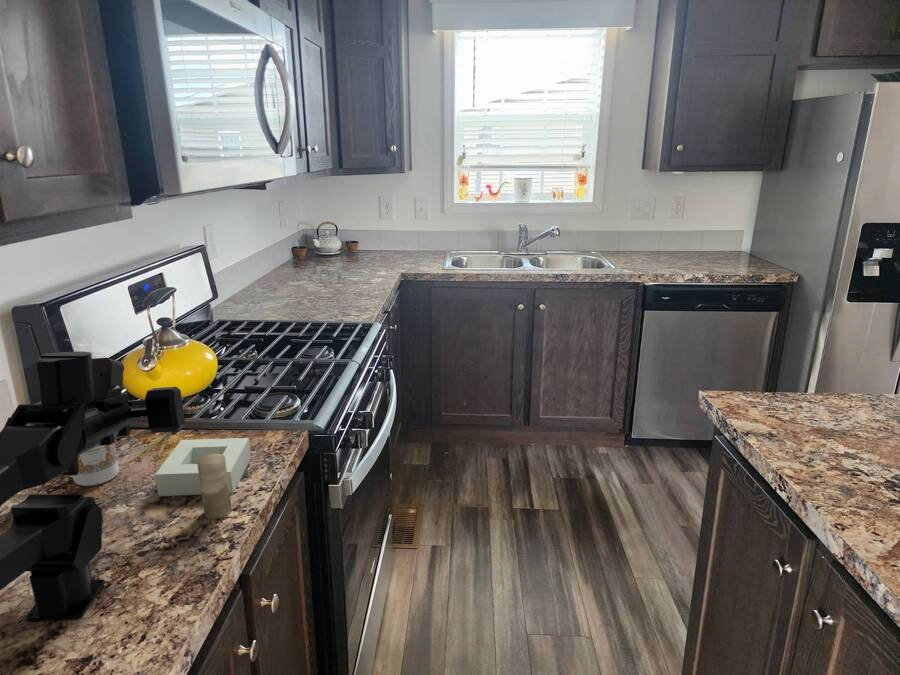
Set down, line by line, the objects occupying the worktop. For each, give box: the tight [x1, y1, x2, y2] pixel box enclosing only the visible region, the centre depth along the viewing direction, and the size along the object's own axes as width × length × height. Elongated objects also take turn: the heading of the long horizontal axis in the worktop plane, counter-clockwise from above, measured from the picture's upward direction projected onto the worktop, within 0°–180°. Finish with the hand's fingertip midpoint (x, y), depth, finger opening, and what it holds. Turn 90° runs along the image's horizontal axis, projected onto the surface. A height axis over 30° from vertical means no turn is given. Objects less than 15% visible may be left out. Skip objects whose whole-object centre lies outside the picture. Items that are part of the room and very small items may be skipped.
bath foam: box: [72, 443, 120, 487], centre depth 102 cm, size 7×7×20 cm
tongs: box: [135, 432, 173, 463], centre depth 116 cm, size 4×13×2 cm, turn 7°
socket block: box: [154, 437, 252, 497], centre depth 105 cm, size 12×12×4 cm
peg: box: [197, 454, 233, 520], centre depth 94 cm, size 4×4×9 cm
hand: (144, 400), depth 95 cm, fingers open, 9 cm apart
